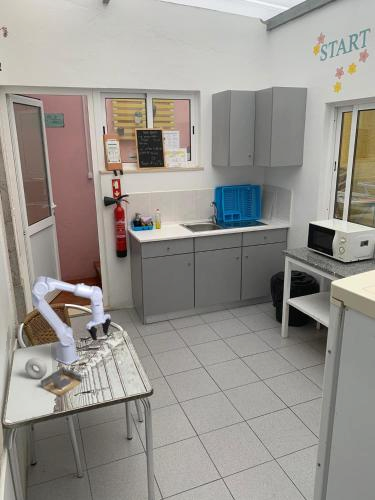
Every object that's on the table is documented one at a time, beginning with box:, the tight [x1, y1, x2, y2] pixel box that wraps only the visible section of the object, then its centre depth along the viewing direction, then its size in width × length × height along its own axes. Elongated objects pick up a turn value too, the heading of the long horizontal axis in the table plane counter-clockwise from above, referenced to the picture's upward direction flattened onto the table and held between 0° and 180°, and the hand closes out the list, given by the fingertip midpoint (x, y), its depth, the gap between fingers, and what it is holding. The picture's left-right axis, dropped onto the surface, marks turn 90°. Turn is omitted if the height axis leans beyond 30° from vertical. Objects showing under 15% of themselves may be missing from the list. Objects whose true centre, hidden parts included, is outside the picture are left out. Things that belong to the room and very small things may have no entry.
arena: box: [40, 366, 83, 397], centre depth 168 cm, size 12×12×4 cm
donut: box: [24, 357, 48, 379], centre depth 173 cm, size 10×3×10 cm, turn 81°
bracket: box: [52, 373, 71, 390], centre depth 166 cm, size 6×4×6 cm, turn 147°
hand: (100, 336), depth 191 cm, fingers open, 7 cm apart
